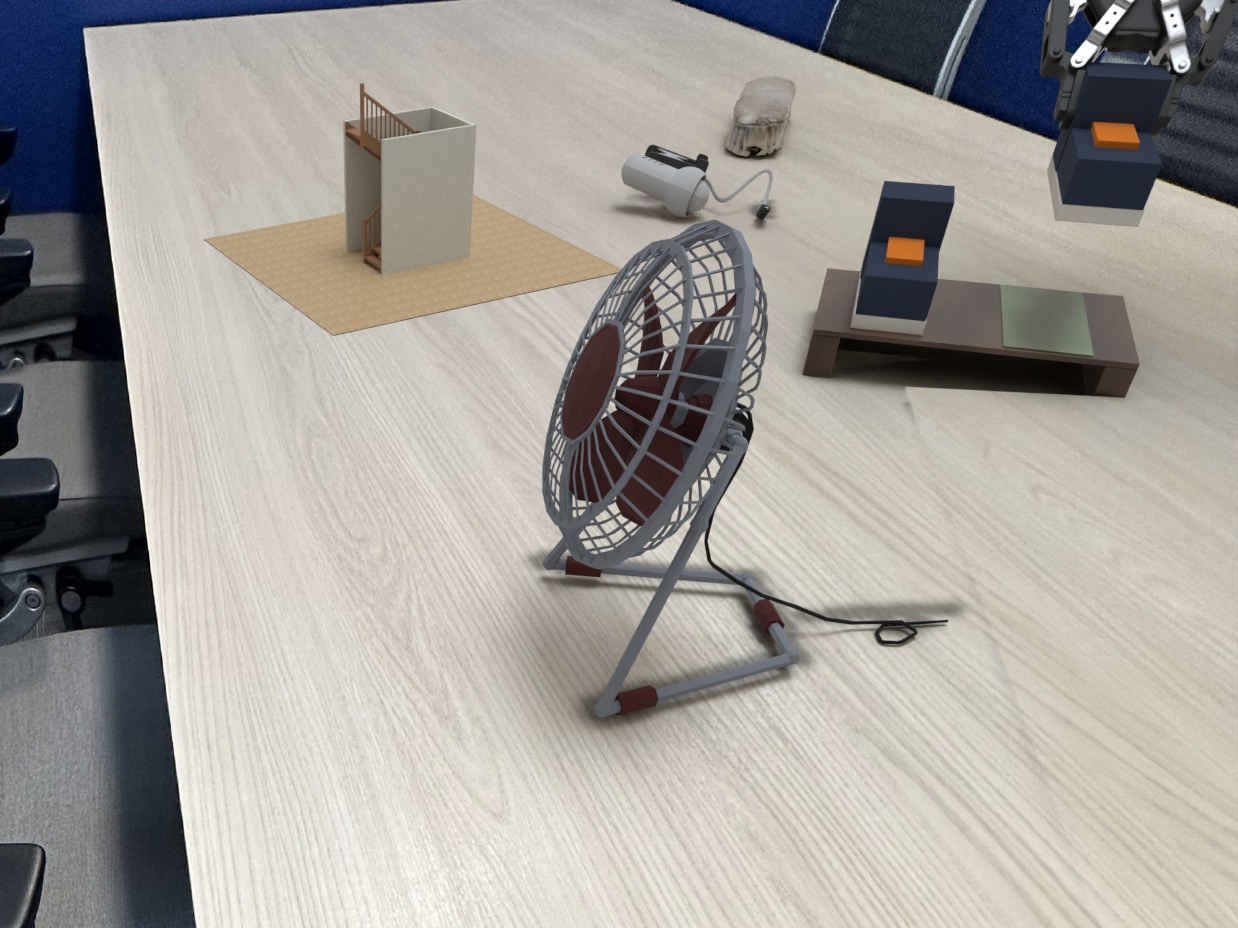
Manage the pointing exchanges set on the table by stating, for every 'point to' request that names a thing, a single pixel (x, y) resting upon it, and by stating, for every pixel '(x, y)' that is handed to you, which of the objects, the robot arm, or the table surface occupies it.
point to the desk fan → (662, 442)
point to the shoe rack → (995, 327)
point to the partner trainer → (902, 258)
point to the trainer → (1109, 146)
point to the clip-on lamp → (679, 180)
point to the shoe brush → (761, 115)
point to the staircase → (406, 232)
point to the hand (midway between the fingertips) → (1111, 126)
